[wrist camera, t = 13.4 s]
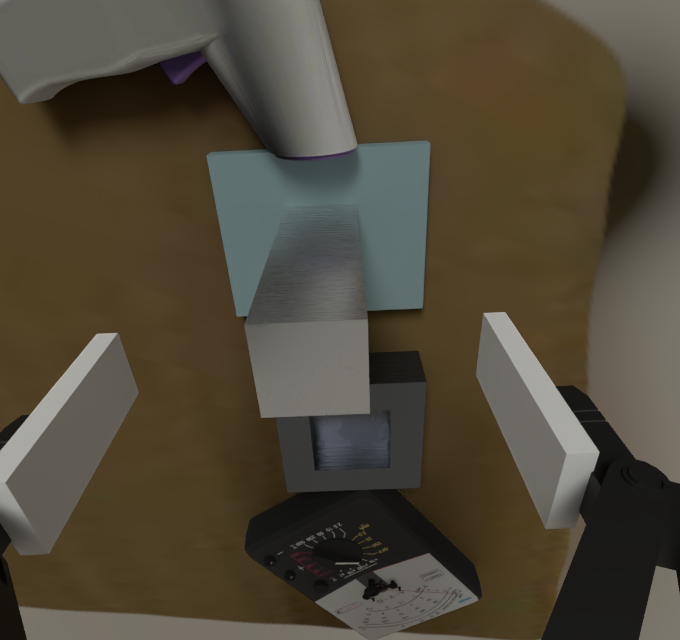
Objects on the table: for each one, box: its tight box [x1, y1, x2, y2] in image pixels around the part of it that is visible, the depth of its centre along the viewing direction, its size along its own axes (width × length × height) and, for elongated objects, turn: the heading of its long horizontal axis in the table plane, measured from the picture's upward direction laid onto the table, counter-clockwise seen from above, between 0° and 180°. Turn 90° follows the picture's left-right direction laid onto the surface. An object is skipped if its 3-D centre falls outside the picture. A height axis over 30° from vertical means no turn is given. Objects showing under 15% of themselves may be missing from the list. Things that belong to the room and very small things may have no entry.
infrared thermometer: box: [0, 0, 357, 161], centre depth 22 cm, size 5×12×15 cm
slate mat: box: [207, 141, 430, 317], centre depth 27 cm, size 12×10×1 cm
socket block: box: [275, 351, 426, 492], centre depth 33 cm, size 10×10×4 cm
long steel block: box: [244, 204, 370, 418], centre depth 21 cm, size 4×4×13 cm
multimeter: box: [245, 489, 482, 640], centre depth 42 cm, size 13×19×5 cm
